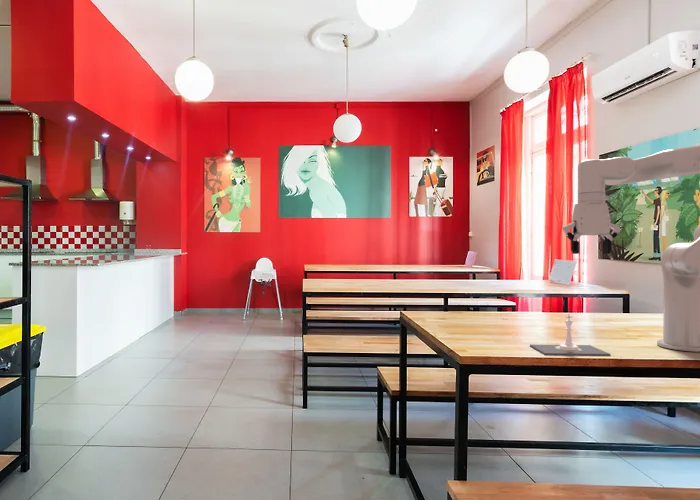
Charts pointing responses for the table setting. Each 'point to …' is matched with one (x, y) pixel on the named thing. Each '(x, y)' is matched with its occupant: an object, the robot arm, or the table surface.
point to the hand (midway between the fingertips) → (591, 253)
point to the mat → (557, 350)
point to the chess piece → (568, 336)
